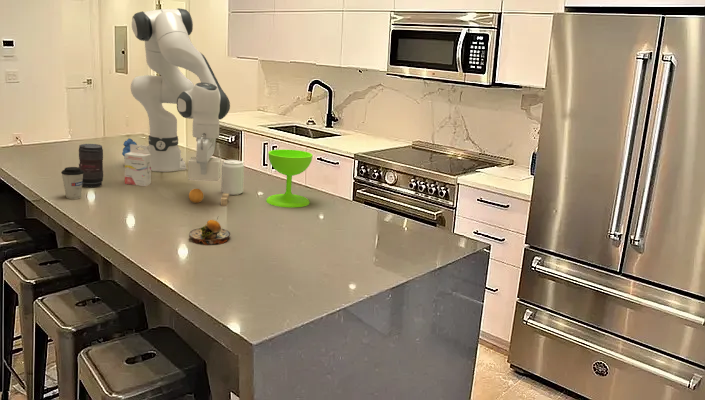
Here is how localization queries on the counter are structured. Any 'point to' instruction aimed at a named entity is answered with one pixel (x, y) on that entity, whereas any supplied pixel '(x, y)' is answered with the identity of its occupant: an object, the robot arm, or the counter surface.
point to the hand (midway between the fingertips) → (205, 171)
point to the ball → (196, 195)
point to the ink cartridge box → (138, 166)
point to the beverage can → (232, 177)
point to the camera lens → (91, 164)
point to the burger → (210, 234)
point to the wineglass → (289, 175)
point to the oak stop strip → (224, 199)
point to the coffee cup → (72, 182)
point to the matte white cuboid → (212, 170)
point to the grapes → (127, 146)
